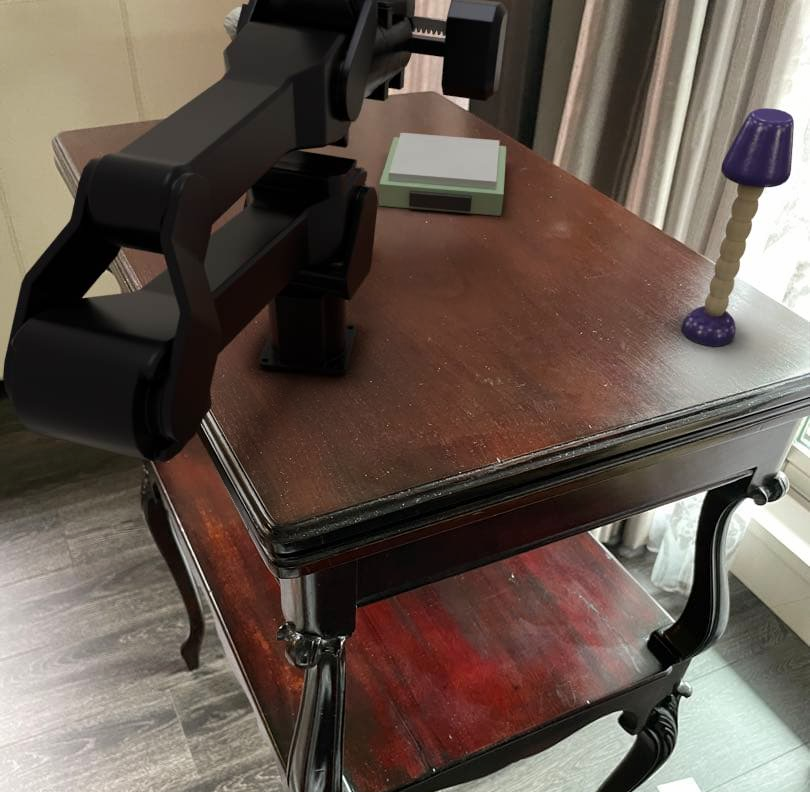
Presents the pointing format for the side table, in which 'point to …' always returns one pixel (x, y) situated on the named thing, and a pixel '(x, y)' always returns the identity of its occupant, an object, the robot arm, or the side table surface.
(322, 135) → the robot arm
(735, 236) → the toy lamp
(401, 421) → the side table surface
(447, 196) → the scale
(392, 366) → the side table surface
